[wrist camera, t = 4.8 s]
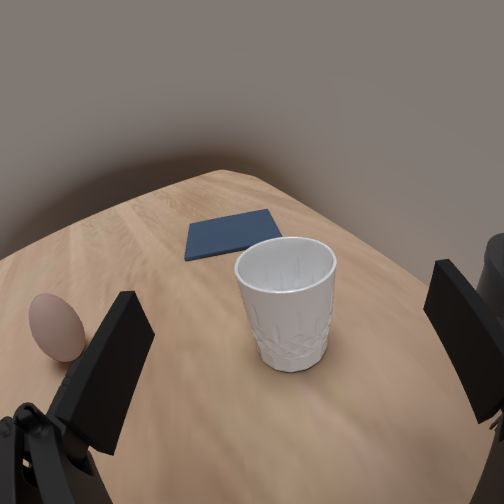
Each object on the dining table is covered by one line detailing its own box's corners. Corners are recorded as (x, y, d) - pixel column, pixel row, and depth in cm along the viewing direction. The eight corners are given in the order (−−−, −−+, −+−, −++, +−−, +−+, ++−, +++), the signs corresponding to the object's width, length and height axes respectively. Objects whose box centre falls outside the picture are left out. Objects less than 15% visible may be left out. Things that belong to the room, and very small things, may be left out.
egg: (65, 383, 24) (20, 325, 19) (49, 356, 28) (12, 302, 23) (104, 351, 28) (67, 290, 24) (83, 330, 32) (52, 274, 28)
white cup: (257, 385, 23) (236, 301, 18) (249, 325, 30) (232, 245, 25) (342, 367, 23) (352, 279, 18) (320, 312, 30) (319, 230, 25)
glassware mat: (267, 211, 57) (267, 208, 57) (284, 242, 45) (283, 238, 45) (190, 226, 56) (189, 223, 56) (185, 261, 44) (184, 258, 44)
